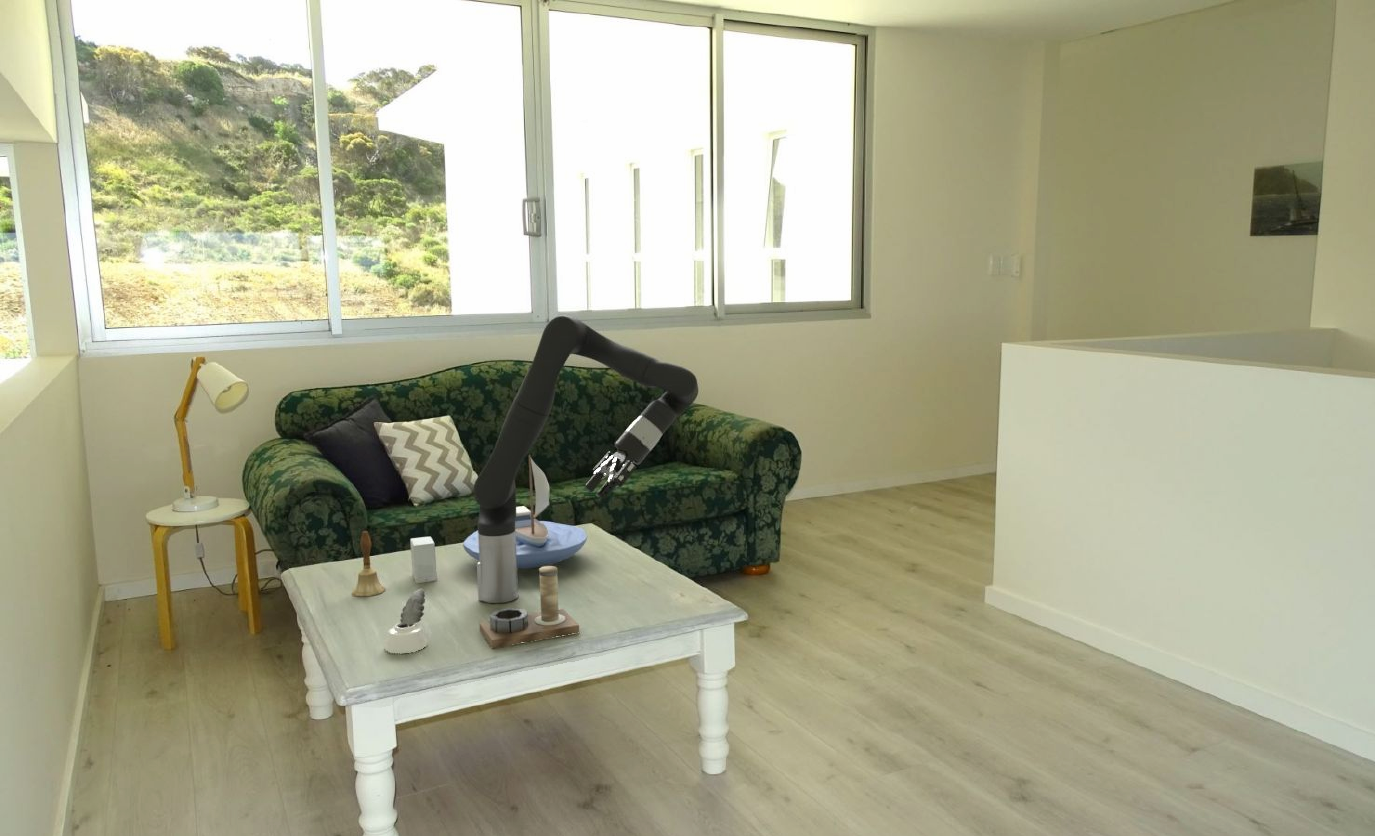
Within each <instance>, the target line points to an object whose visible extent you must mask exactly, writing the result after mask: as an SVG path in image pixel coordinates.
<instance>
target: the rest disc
mask: <svg viewBox="0 0 1375 836" xmlns="http://www.w3.org/2000/svg"><path fill="white" fill-rule="evenodd" d="M564 621H565V616H563V615H560V614H559V619H558V620H557V621H554V622H544V621H542V620H541V616H538V617H536V618H535V623H536V624H538V625H543V626H552V625H557V624H561V623H563V622H564Z"/></svg>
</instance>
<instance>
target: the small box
mask: <svg viewBox="0 0 1375 836" xmlns="http://www.w3.org/2000/svg"><path fill="white" fill-rule="evenodd" d="M409 541H410V555H411V570H412V576H413V579H414V581H415V584H423V583H428V582H436V581H438V575H437V574H438V571H437V559H436V558H437V557H436V546H435V545H436V544H435V542H434V540H433V538H432V536H422V537H421V536H420V537H413V538H410V539H409Z"/></svg>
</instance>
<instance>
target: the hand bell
mask: <svg viewBox="0 0 1375 836" xmlns="http://www.w3.org/2000/svg"><path fill="white" fill-rule="evenodd" d="M360 537H361V538H360V544H359V545H360V550H361V553H362V557H363V564H362V565H363V569H361V570H359V572H358V578H357V584H356V585H355V588H354V589H352V592H351V594H352V595H353V596H356V597H371V596H377V595H380V594H381V593H384V592H385V591H386V589H387V588H386V587H385V586H384V585H383V584H382V583H381V581H380V580H379V577H378V574H377V570H376V569H373V568H372V567H371V557H370V554H371V549H372V548H371V547H372V540H371V537H370V535H369V532H368V531H367V530H363V531H362V533H361V536H360Z"/></svg>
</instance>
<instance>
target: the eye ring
mask: <svg viewBox="0 0 1375 836" xmlns="http://www.w3.org/2000/svg"><path fill="white" fill-rule="evenodd" d="M528 615H529V613H528V611H526V610H525V609H523V608H515V607H513V608H512V607H511V608H510V607H508V608H503V609H499V610H495V611H493V612H491V614H490V615H489V621H490V629H491V630H492V631H494V632H495V633H501V634H510V633H511V634H512V633H516V632H520V631H523V630H525V629H526V628H527V627H528V626H529V625H528Z"/></svg>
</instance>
